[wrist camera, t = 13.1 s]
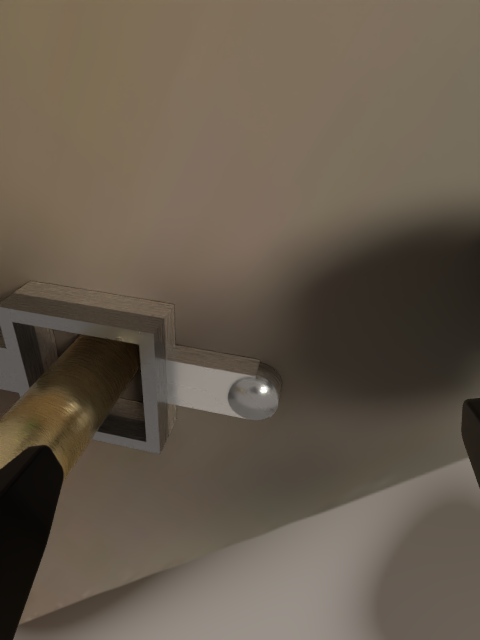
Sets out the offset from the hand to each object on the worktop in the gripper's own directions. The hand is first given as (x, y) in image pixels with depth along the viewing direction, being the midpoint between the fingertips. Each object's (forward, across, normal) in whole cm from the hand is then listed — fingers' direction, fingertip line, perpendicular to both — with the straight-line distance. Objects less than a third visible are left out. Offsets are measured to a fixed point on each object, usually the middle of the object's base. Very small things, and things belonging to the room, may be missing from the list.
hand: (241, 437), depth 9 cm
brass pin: (+14, +11, +6) cm, 19 cm away
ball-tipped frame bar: (+14, +11, +6) cm, 19 cm away
